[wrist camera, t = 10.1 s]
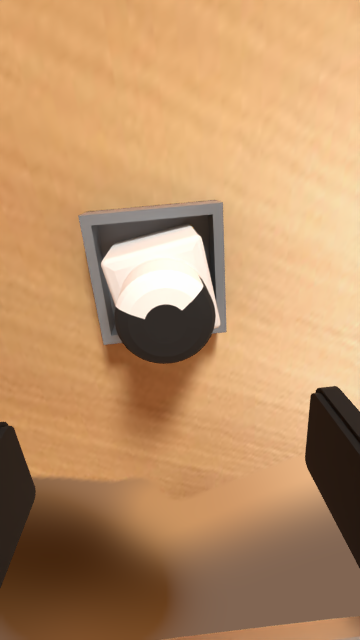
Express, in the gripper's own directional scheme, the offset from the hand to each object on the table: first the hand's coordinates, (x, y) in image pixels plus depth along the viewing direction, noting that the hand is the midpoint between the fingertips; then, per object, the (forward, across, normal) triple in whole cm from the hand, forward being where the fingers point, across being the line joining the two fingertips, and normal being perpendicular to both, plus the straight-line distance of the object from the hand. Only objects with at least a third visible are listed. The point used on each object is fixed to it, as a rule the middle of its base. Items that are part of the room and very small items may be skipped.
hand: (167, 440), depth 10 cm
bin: (+22, 0, 0) cm, 22 cm away
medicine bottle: (+21, 0, 0) cm, 21 cm away
